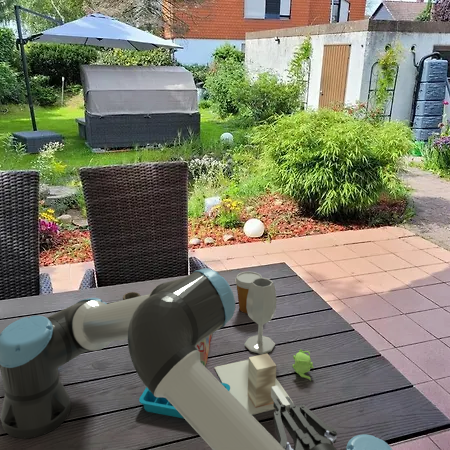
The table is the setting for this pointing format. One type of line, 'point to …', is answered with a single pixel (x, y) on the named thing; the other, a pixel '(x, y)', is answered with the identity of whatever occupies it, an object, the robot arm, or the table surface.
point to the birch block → (261, 379)
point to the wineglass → (261, 313)
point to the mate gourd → (130, 295)
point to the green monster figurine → (302, 363)
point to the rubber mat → (242, 385)
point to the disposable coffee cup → (244, 287)
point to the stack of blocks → (204, 349)
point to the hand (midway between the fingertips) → (274, 390)
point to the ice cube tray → (162, 403)
